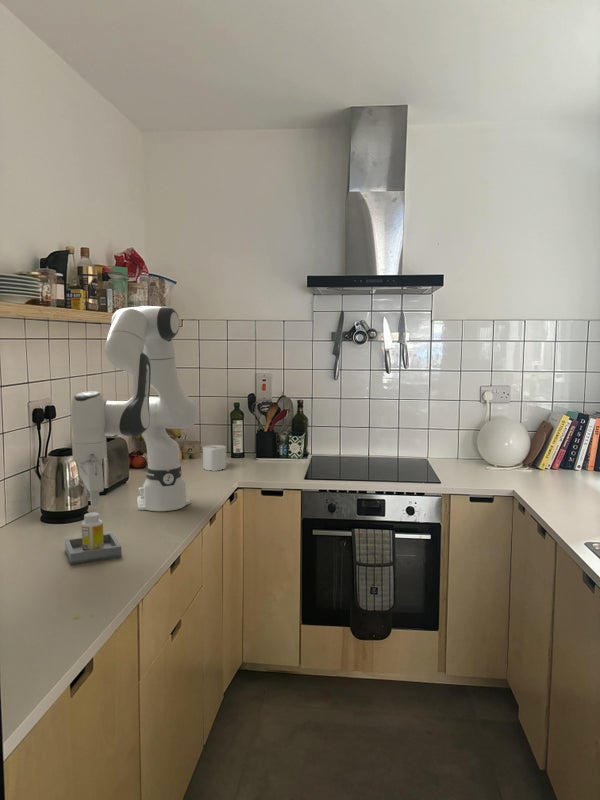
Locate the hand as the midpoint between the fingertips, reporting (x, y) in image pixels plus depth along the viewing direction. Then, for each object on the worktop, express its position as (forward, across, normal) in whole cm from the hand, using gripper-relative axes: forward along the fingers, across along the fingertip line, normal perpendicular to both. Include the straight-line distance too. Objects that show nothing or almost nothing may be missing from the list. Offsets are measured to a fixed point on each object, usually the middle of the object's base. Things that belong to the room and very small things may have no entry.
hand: (92, 500), depth 166 cm
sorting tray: (+15, 0, 0) cm, 15 cm away
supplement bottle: (+14, 0, 0) cm, 14 cm away
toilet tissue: (+17, +89, -67) cm, 113 cm away
